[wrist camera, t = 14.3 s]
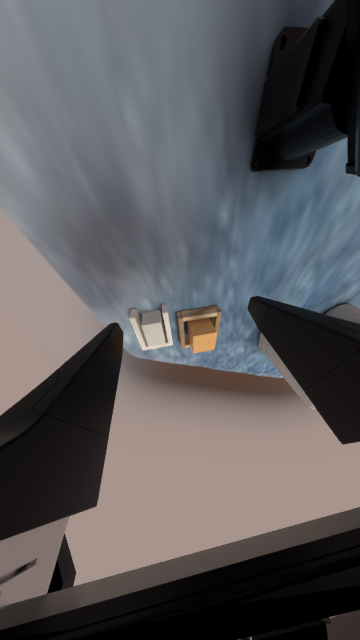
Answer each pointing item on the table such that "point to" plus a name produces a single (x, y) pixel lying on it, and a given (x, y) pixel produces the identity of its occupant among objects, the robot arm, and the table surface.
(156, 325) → the block
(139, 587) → the robot arm
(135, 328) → the clip
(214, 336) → the orange block
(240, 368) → the table surface
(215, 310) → the holder
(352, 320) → the water bottle
